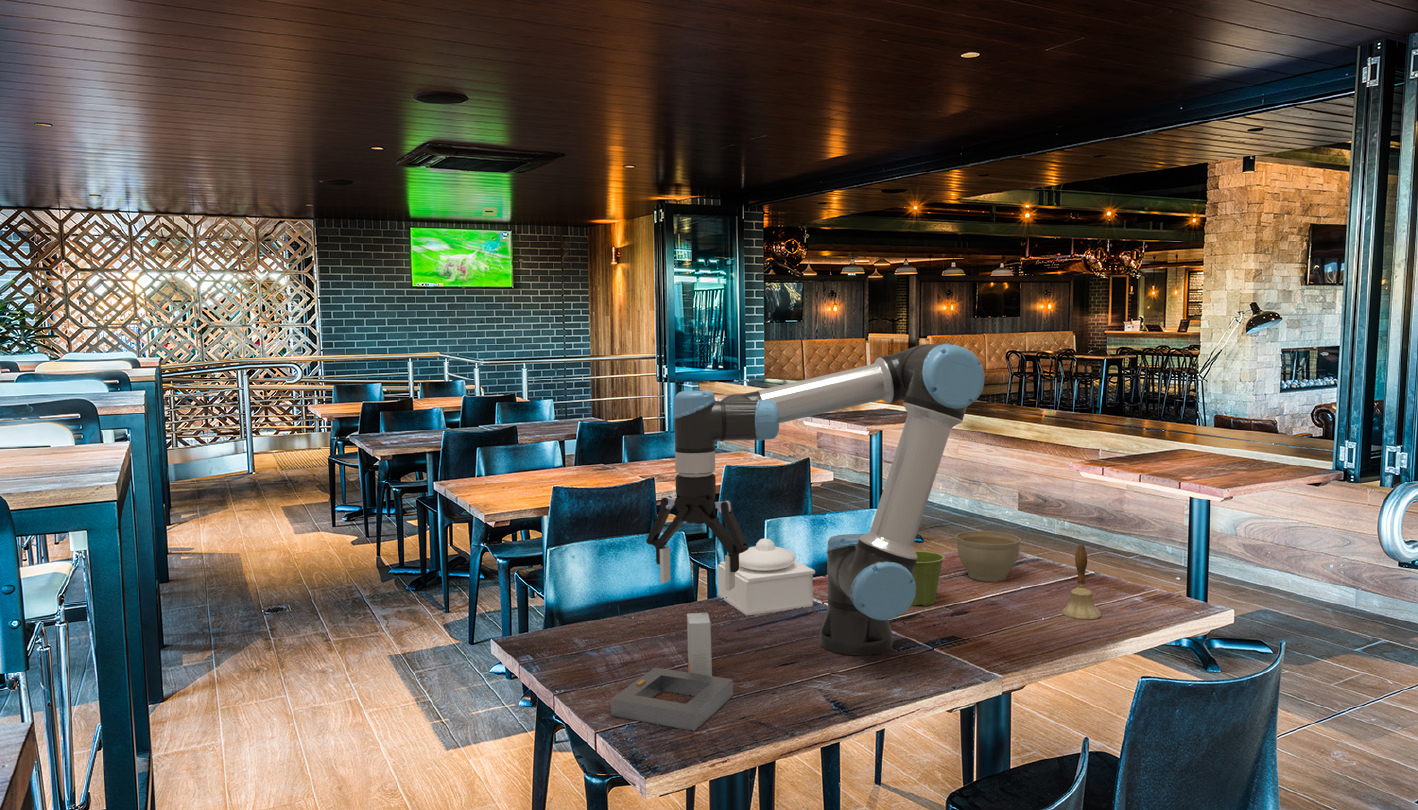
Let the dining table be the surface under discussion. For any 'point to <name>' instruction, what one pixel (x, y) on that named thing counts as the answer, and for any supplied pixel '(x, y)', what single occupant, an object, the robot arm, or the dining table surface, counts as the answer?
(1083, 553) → the hand bell
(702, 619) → the skincare box
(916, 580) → the plant pot
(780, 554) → the butter dish
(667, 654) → the dining table surface
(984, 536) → the planter bowl
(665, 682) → the collar
